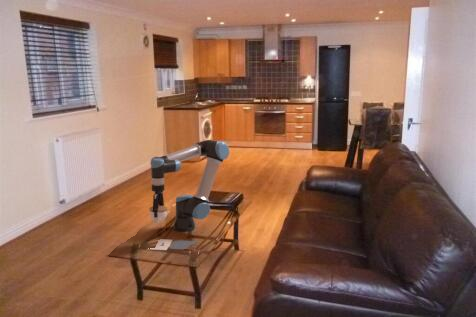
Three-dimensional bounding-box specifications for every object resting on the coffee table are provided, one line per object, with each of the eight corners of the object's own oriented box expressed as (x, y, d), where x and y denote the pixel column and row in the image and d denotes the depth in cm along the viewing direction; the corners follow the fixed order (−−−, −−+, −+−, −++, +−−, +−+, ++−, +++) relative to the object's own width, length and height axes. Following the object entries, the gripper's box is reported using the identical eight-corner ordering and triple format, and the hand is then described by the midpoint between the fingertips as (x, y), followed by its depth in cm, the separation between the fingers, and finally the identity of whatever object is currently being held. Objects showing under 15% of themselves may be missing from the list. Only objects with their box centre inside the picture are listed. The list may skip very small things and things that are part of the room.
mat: (174, 240, 263) (174, 240, 263) (196, 241, 262) (196, 241, 262) (169, 249, 249) (169, 248, 249) (192, 250, 248) (192, 249, 248)
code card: (151, 239, 265) (151, 238, 265) (172, 239, 264) (172, 239, 264) (143, 249, 248) (143, 248, 248) (166, 250, 247) (166, 249, 247)
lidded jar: (168, 222, 251) (168, 207, 249) (151, 223, 247) (150, 208, 245) (165, 216, 260) (165, 202, 259) (148, 218, 257) (148, 203, 255)
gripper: (156, 179, 261) (157, 213, 265) (146, 188, 238) (147, 225, 242) (168, 179, 261) (168, 213, 265) (159, 189, 238) (159, 225, 242)
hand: (158, 219), depth 254 cm, fingers closed on lidded jar, 11 cm apart
